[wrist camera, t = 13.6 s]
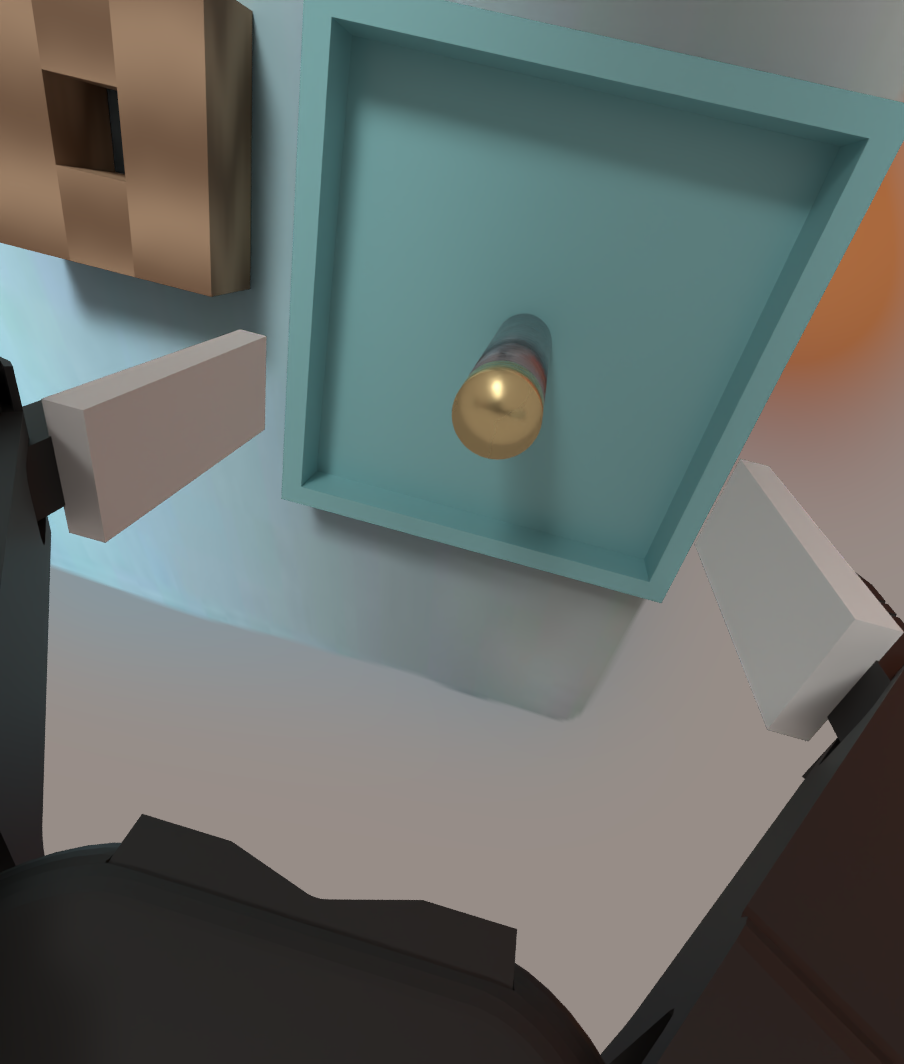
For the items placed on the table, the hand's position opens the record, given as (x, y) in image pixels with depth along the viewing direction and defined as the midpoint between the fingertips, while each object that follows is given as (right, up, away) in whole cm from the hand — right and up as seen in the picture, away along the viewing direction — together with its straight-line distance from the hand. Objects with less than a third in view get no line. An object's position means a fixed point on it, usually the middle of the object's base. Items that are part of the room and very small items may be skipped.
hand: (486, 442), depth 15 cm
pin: (+3, +8, +14) cm, 16 cm away
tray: (+3, +8, +15) cm, 17 cm away
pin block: (-17, +18, +13) cm, 28 cm away
